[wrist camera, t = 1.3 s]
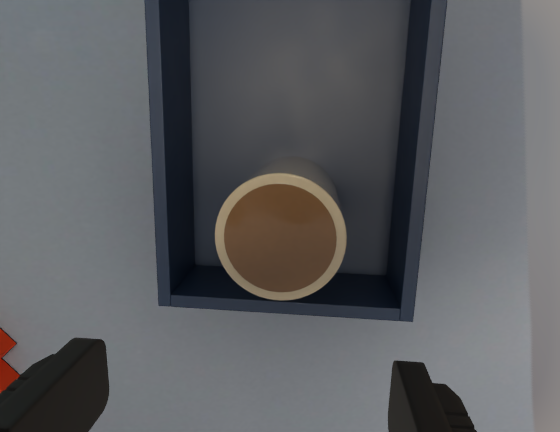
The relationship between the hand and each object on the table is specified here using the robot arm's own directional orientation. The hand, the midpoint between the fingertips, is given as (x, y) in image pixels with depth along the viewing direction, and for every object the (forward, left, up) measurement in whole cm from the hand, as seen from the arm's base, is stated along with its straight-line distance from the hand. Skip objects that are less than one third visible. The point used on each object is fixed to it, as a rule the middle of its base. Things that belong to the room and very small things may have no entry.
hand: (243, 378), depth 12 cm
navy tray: (-6, -5, -19) cm, 21 cm away
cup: (-1, -1, -19) cm, 19 cm away
